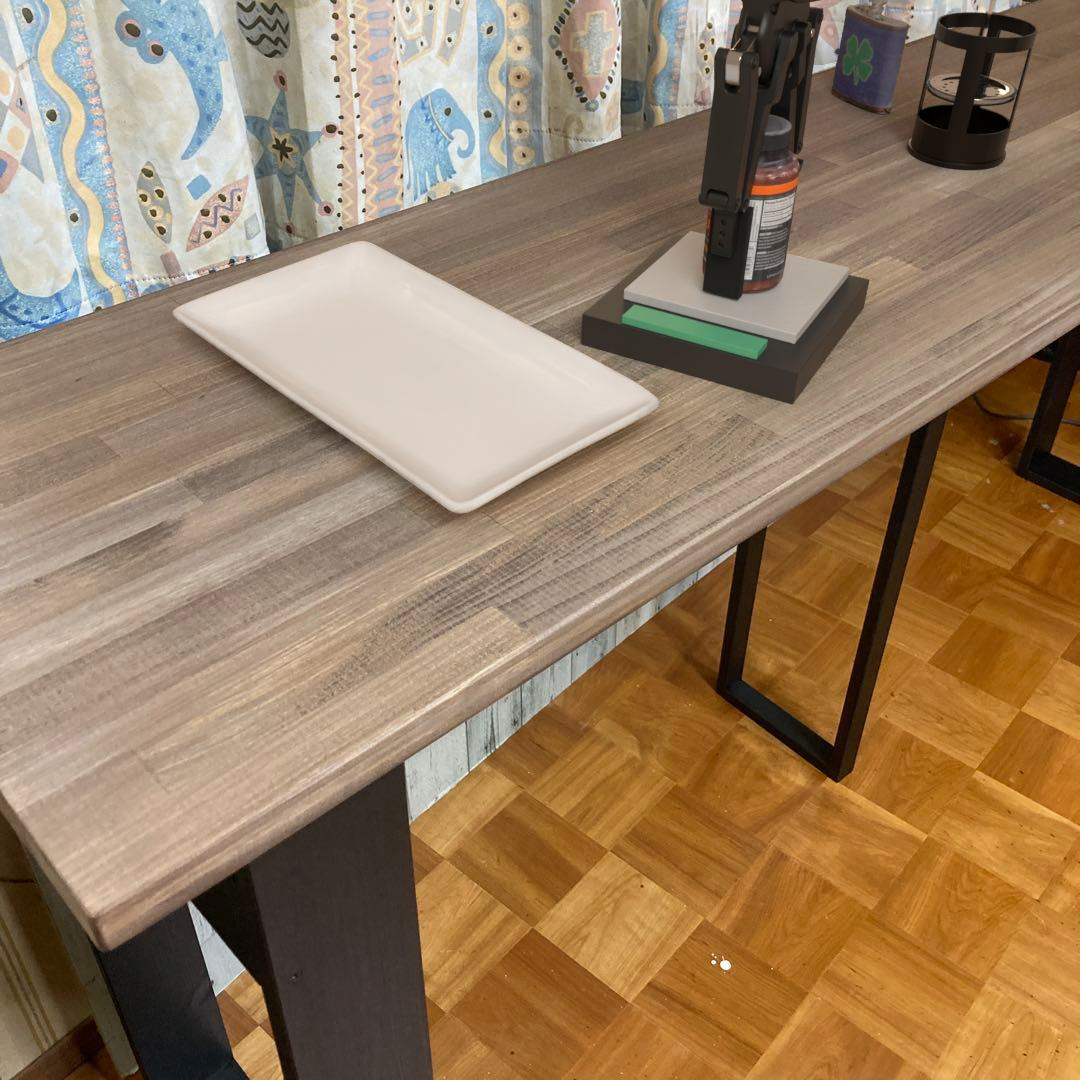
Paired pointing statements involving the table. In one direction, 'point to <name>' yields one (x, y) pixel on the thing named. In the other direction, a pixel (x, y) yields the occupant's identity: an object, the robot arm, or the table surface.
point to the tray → (418, 371)
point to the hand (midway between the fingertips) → (739, 274)
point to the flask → (869, 57)
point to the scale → (727, 320)
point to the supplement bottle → (769, 209)
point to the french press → (970, 93)
